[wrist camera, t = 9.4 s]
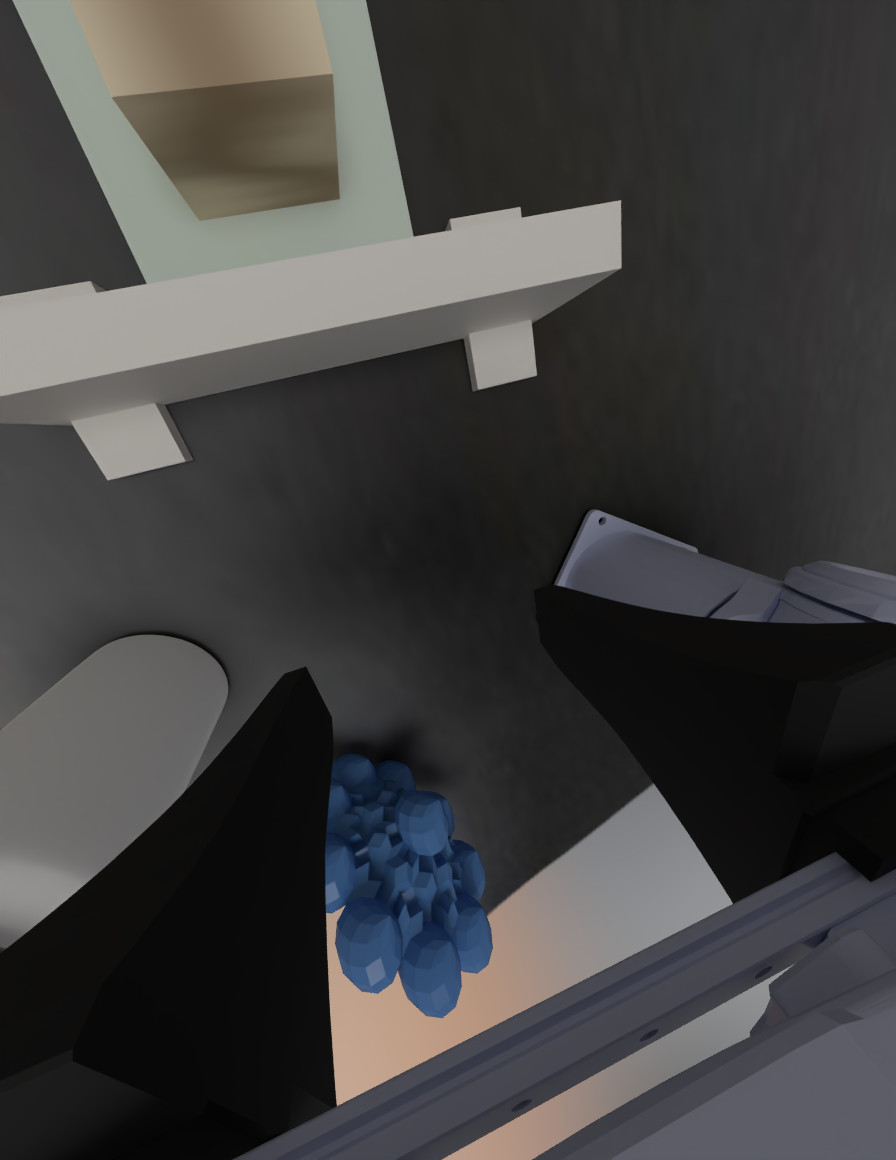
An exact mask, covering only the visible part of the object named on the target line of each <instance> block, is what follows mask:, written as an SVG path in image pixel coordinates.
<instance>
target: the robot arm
mask: <svg viewBox="0 0 896 1160" xmlns="http://www.w3.org/2000/svg"><path fill="white" fill-rule="evenodd" d="M601 517H602V521H601V523H599V519H600V518H601ZM534 595H535V602H536V610H537V617H538V625H539V633H540V640H541V643H542V645H543V646H544V648H545V650H546V651H547V653H548V654H549V656H550V657H551V658H552V660H553V661H554V663H555V664H556V665H557V667H558V668H559V669H560V670H561V671H562V673H563V674H564V675H565V676H566V677H567V678H568V679H569V680H570V681H571V683H572V684H573V685H574V686H575V687H576V688H577V689H578V690H579V691H580V692H581V693H582V695H583V696H584V697H585V698H586V699H587V700H588V701H589V702H590V703H591V704H592V706H593V707H594V708H595V709H596V710H597V711H598V712H599V713H600V714H601V715H602V716H603V718H604V719H605V720H606V721H607V722H608V723H609V724H610V726H611V727H612V728H613V729H614V730H615V732H616V733H617V734H618V735H619V737H620V738H621V739H622V741H623V742H624V743H625V745H626V746H627V747H628V749H629V750H630V751H631V753H632V754H633V755H634V757H635V758H636V759H637V761H638V762H639V763H640V765H641V766H642V768H643V769H644V770H645V772H646V773H647V775H648V776H649V777H650V779H651V780H652V782H653V783H654V784H655V786H656V787H657V788H658V790H659V791H660V793H661V794H662V795H663V797H664V798H665V800H666V801H667V803H668V804H669V806H670V807H671V809H672V810H673V812H674V813H675V815H676V816H677V818H678V819H679V821H680V822H681V824H682V825H683V826H684V828H685V829H686V831H687V832H688V834H689V835H690V837H691V838H692V840H693V841H694V842H695V844H696V846H697V847H698V849H699V851H700V852H701V853H702V855H703V857H704V858H705V860H706V861H707V863H708V865H709V866H710V868H711V869H712V871H713V872H714V874H715V875H716V877H717V879H718V880H719V882H720V883H721V885H722V886H723V888H724V889H725V891H726V893H727V894H728V896H729V897H730V899H731V901H732V902H733V904H732V905H730V906H728V907H726V908H724V909H722V910H720V911H718V912H716V913H714V914H712V915H710V916H709V917H707V918H705V919H703V920H701V921H699V922H697V923H695V924H693V925H691V926H689V927H687V928H685V929H683V930H681V931H679V932H677V933H675V934H673V935H671V936H670V937H667V938H665V939H663V940H662V941H660V942H658V943H656V944H654V945H652V946H650V947H648V948H646V949H644V950H642V951H640V952H638V953H636V954H634V955H632V956H630V957H628V958H626V959H624V960H623V961H620V962H619V963H617V964H615V965H613V966H611V967H609V968H607V969H605V970H603V971H601V972H599V973H597V974H595V975H593V976H591V977H589V978H587V979H585V980H583V981H582V982H579V983H578V984H576V985H573V986H572V987H570V988H568V989H566V990H564V991H562V992H560V993H558V994H556V995H554V996H552V997H550V998H548V999H546V1000H544V1001H542V1002H540V1003H538V1004H536V1005H534V1006H533V1007H530V1008H528V1009H527V1010H525V1011H523V1012H521V1013H519V1014H517V1015H515V1016H513V1017H511V1018H509V1019H507V1020H505V1021H503V1022H501V1023H499V1024H497V1025H495V1026H493V1027H491V1028H489V1029H488V1030H485V1031H484V1032H482V1033H480V1034H478V1035H476V1036H474V1037H472V1038H470V1039H468V1040H466V1041H464V1042H462V1043H460V1044H458V1045H456V1046H454V1047H452V1048H450V1049H448V1050H446V1051H444V1052H442V1053H441V1054H438V1055H437V1056H435V1057H433V1058H431V1059H429V1060H427V1061H425V1062H423V1063H421V1064H419V1065H417V1066H415V1067H413V1068H411V1069H409V1070H407V1071H405V1072H403V1073H401V1074H400V1075H398V1076H395V1077H393V1078H392V1079H390V1080H388V1081H386V1082H384V1083H382V1084H380V1085H378V1086H376V1087H374V1088H372V1089H370V1090H368V1091H366V1092H364V1093H362V1094H360V1095H358V1096H356V1097H354V1098H353V1099H350V1100H348V1101H346V1102H345V1103H343V1104H341V1105H339V1106H337V1104H336V1091H335V1079H334V1065H333V1051H332V1050H333V1049H332V1035H331V1020H330V1003H329V982H328V960H327V933H326V932H327V931H326V882H325V849H326V830H327V819H328V808H329V797H330V786H331V775H332V763H333V728H332V717H331V715H330V713H329V711H328V709H327V707H326V705H325V703H324V701H323V699H322V697H321V695H320V693H319V691H318V689H317V687H316V685H315V683H314V681H313V679H312V677H311V675H310V674H309V672H308V670H307V668H306V667H303V668H300V669H297V670H294V671H291V672H288V673H285V674H284V675H283V676H282V677H281V678H280V680H279V681H278V682H277V683H276V684H275V686H274V687H273V688H272V689H271V691H270V692H269V693H268V694H267V696H266V697H265V698H264V700H263V701H262V702H261V703H260V705H259V706H258V707H257V709H256V710H255V711H254V712H253V714H252V715H251V716H250V717H249V719H248V720H247V721H246V722H245V724H244V725H243V726H242V727H241V729H240V730H239V731H238V732H237V734H236V735H235V736H234V737H233V738H232V739H231V741H230V742H229V743H228V744H227V745H226V746H225V748H224V749H223V750H222V751H221V752H220V753H219V755H218V756H217V757H216V758H215V759H214V760H213V762H212V763H211V764H210V765H209V766H208V767H207V768H206V770H205V771H204V772H203V773H202V774H201V775H200V776H199V777H198V778H197V779H196V780H195V781H194V783H193V784H192V785H191V786H190V787H189V788H188V789H187V790H186V791H185V792H184V793H183V794H182V795H181V796H180V797H179V798H178V799H177V800H176V801H175V802H174V803H173V804H172V805H171V806H170V807H169V808H168V809H167V810H166V811H165V812H164V813H163V814H162V815H161V816H160V817H159V818H158V819H157V820H156V821H155V822H154V823H152V824H151V825H150V826H149V827H148V828H147V829H146V830H145V831H144V832H143V833H142V834H141V835H139V836H138V837H137V838H136V839H135V840H134V841H133V842H132V843H131V844H130V845H129V846H128V847H126V848H125V849H124V850H123V851H122V852H121V853H120V854H119V855H118V856H117V857H116V858H115V859H113V860H112V861H111V862H110V863H109V864H108V865H107V866H106V867H104V868H103V869H102V870H101V871H100V872H99V873H98V874H96V875H95V876H94V877H93V878H92V879H91V880H89V881H88V882H87V883H86V884H85V885H84V886H82V887H81V888H80V889H79V890H78V891H77V892H75V893H74V894H73V895H72V896H71V897H69V898H68V899H67V900H66V901H65V902H63V903H62V904H61V905H60V906H58V907H57V908H56V909H55V910H54V911H52V912H51V913H50V914H49V915H48V916H46V917H45V918H44V919H43V920H42V921H40V922H39V923H38V924H37V925H35V926H34V927H33V928H32V929H30V930H29V931H28V932H27V933H25V934H24V935H23V936H22V937H20V938H19V939H18V940H17V941H15V942H14V943H13V944H12V945H10V946H9V947H8V948H6V949H5V950H4V951H2V952H1V953H0V1160H441V1159H443V1158H445V1157H447V1156H448V1155H451V1154H452V1153H454V1152H456V1151H458V1150H459V1149H461V1148H463V1147H465V1146H467V1145H468V1144H470V1143H472V1142H474V1141H476V1140H477V1139H479V1138H481V1137H483V1136H485V1135H487V1134H488V1133H490V1132H492V1131H494V1130H496V1129H497V1128H499V1127H501V1126H503V1125H505V1124H506V1123H508V1122H510V1121H512V1120H514V1119H515V1118H517V1117H519V1116H521V1115H523V1114H525V1113H526V1112H528V1111H530V1110H532V1109H533V1108H535V1107H537V1106H539V1105H541V1104H542V1103H544V1102H546V1101H548V1100H550V1099H551V1098H553V1097H555V1096H557V1095H559V1094H561V1093H562V1092H564V1091H566V1090H568V1089H570V1088H571V1087H573V1086H575V1085H577V1084H579V1083H580V1082H582V1081H584V1080H586V1079H588V1078H589V1077H591V1076H593V1075H595V1074H597V1073H598V1072H600V1071H602V1070H604V1069H606V1068H607V1067H609V1066H611V1065H613V1064H614V1063H616V1062H618V1061H620V1060H622V1059H624V1058H626V1057H627V1056H629V1055H631V1054H633V1053H634V1052H636V1051H638V1050H640V1049H642V1048H644V1047H645V1046H647V1045H649V1044H651V1043H653V1042H654V1041H656V1040H658V1039H660V1038H662V1037H663V1036H665V1035H667V1034H669V1033H671V1032H672V1031H674V1030H676V1029H678V1028H680V1027H681V1026H683V1025H685V1024H687V1023H688V1022H690V1021H692V1020H694V1019H696V1018H697V1017H699V1016H701V1015H703V1014H705V1013H706V1012H708V1011H710V1010H712V1009H714V1008H716V1007H717V1006H719V1005H721V1004H723V1003H725V1002H726V1001H728V1000H730V999H732V998H734V997H735V996H737V995H739V994H741V993H743V992H745V991H746V990H748V989H750V988H752V987H753V986H755V985H757V984H759V983H761V982H763V981H764V980H766V979H768V978H770V977H771V976H773V975H775V974H777V973H779V972H781V971H782V970H784V969H786V968H788V967H790V966H791V965H793V964H794V965H793V966H792V967H791V968H789V969H788V970H787V971H786V972H784V973H783V974H782V975H780V976H779V977H778V978H777V979H775V980H774V981H773V982H772V983H771V984H769V991H770V997H771V998H770V1001H769V1003H768V1005H767V1008H766V1010H765V1013H764V1014H763V1015H762V1016H761V1018H760V1019H759V1020H758V1022H757V1023H756V1024H755V1026H754V1027H753V1028H752V1030H751V1031H750V1037H749V1038H747V1039H745V1040H743V1041H741V1042H739V1043H736V1044H735V1045H733V1046H730V1047H728V1048H726V1049H724V1050H722V1051H720V1052H718V1053H717V1054H715V1055H713V1056H711V1057H709V1058H707V1059H705V1060H703V1061H702V1062H700V1063H698V1064H696V1065H694V1066H692V1067H690V1068H689V1069H687V1070H685V1071H683V1072H681V1073H679V1074H677V1075H675V1076H674V1077H672V1078H670V1079H668V1080H666V1081H665V1082H662V1083H661V1084H659V1085H657V1086H655V1087H654V1088H652V1089H650V1090H648V1091H647V1092H645V1093H643V1094H641V1095H640V1096H638V1097H636V1098H634V1099H633V1100H631V1101H629V1102H627V1103H626V1104H624V1105H622V1106H621V1107H619V1108H617V1109H615V1110H614V1111H612V1112H610V1113H608V1114H607V1115H605V1116H603V1117H601V1118H600V1119H598V1120H596V1121H595V1122H593V1123H591V1124H590V1125H588V1126H586V1127H585V1128H583V1129H581V1130H580V1131H578V1132H576V1133H575V1134H573V1135H572V1136H570V1137H568V1138H567V1139H565V1140H563V1141H562V1142H561V1143H559V1144H557V1145H555V1146H554V1147H552V1148H550V1149H549V1150H547V1151H545V1152H544V1153H542V1154H541V1155H539V1156H537V1157H536V1158H534V1159H532V1160H896V576H892V575H888V574H884V573H880V572H875V571H871V570H867V569H862V568H858V567H853V566H848V565H844V564H839V563H834V562H828V561H816V562H813V563H810V564H807V565H804V566H803V567H792V568H790V569H789V570H788V572H787V574H786V576H785V578H784V581H779V580H775V579H772V578H769V577H766V576H763V575H761V574H758V573H755V572H752V571H749V570H746V569H743V568H740V567H737V566H734V565H731V564H728V563H725V562H722V561H719V560H717V559H714V558H711V557H708V556H705V555H702V554H699V553H698V550H697V548H695V547H692V546H690V545H687V544H685V543H682V542H680V541H677V540H674V539H672V538H669V537H667V536H664V535H661V534H659V533H656V532H654V531H651V530H648V529H646V528H643V527H641V526H638V525H635V524H633V523H630V522H628V521H625V520H623V519H620V518H617V517H615V516H612V515H610V514H607V513H604V512H602V511H599V510H596V509H593V510H590V511H589V512H588V513H587V514H586V516H585V518H584V521H583V523H582V525H581V527H580V529H579V531H578V533H577V536H576V538H575V540H574V542H573V544H572V546H571V549H570V551H569V553H568V555H567V557H566V559H565V561H564V564H563V566H562V568H561V570H560V572H559V574H558V577H557V579H556V581H555V583H554V585H553V584H551V585H548V586H545V587H542V588H539V589H536V590H534ZM795 963H796V964H795Z"/></svg>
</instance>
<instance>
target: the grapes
mask: <svg viewBox="0 0 896 1160" xmlns="http://www.w3.org/2000/svg"><path fill="white" fill-rule="evenodd" d="M454 829H455V828H454V815H453V812H452V809H451V806H450V804H449V802H448V801H447V799H446V798H445V797H443V796H442V795H439V794H437V793H435V792H427V791H417V790H415V781H414V778H413V775H412V773H411V771H410V769H409V768H408V767H407V766H406V765H405V764H403V763H401V762H398V761H393V760H386V761H384V762H382V763H379V764H378V765H377V767H376V768H375V767H374V766H373V764H372V763H371V761H370V760H369V759H368V758H366V757H364V756H362V755H360V754H352V753H348V754H345V755H343V756H341V757H339V758H338V759H337V761H336V762H335V763H334V765H333V766H332V775H331V786H330V797H329V808H328V819H327V830H326V849H325V882H326V913H333V912H335V911H337V910H338V909H340V908H342V907H343V906H345V905H346V906H345V908H344V910H343V912H342V914H341V916H340V918H339V919H338V921H337V929H336V941H335V945H336V949H337V953H338V957H339V960H340V964H341V967H342V971H343V974H344V975H345V976H346V977H347V978H348V979H349V980H350V981H351V982H352V983H353V984H354V985H355V986H356V987H357V988H359V989H360V990H361V991H363V992H370V993H377V994H378V993H379V992H381V991H382V990H383V989H385V988H386V987H388V986H389V985H390V984H392V982H393V981H394V978H395V976H396V973H397V971H398V973H399V976H400V979H401V983H402V986H403V988H404V990H405V993H406V995H407V997H408V999H409V1000H410V1001H411V1002H412V1003H413V1004H414V1005H415V1006H416V1007H417V1008H418V1009H419V1010H420V1011H421V1012H423V1013H424V1014H425V1015H426V1016H430V1017H438V1018H443V1017H444V1016H445V1015H447V1014H448V1013H449V1012H450V1011H451V1010H453V1009H454V1008H455V1007H456V1004H457V1000H458V997H459V994H460V990H461V987H462V986H461V971H463V972H469V973H478V972H480V971H481V970H482V969H483V968H485V967H486V966H487V965H488V963H489V959H490V956H491V952H492V949H493V945H492V934H491V927H490V924H489V921H488V918H487V915H486V912H485V911H484V909H483V907H482V906H481V905H480V904H479V903H478V901H477V900H478V899H480V898H481V896H482V893H483V890H484V887H485V876H484V868H483V865H482V862H481V859H480V857H479V855H478V853H477V851H476V850H475V849H474V848H473V847H472V846H471V845H469V844H467V843H465V842H463V841H461V840H452V839H451V836H452V834H453V831H454Z"/></svg>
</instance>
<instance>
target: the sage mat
mask: <svg viewBox="0 0 896 1160" xmlns="http://www.w3.org/2000/svg"><path fill="white" fill-rule="evenodd" d="M315 1H316V5H317V9H318V13H319V18H320V22H321V26H322V30H323V34H324V38H325V43H326V47H327V51H328V55H329V59H330V63H331V68H332V72H333V83H334V102H335V120H336V139H337V157H338V176H339V194H340V199H338V200H331V201H325V202H318V203H312V204H306V205H299V206H293V207H286V208H280V209H273V210H267V211H261V212H254V213H248V214H241V215H235V216H228V217H222V218H216V219H209V220H203V221H199V219H198V218H197V217H196V215H195V214H194V212H193V211H192V210H191V208H190V207H189V205H188V204H187V203H186V201H185V200H184V198H183V197H182V196H181V194H180V193H179V191H178V190H177V189H176V187H175V186H174V184H173V183H172V182H171V180H170V179H169V177H168V176H167V175H166V173H165V172H164V170H163V169H162V167H161V166H160V165H159V163H158V162H157V160H156V159H155V158H154V156H153V155H152V153H151V152H150V151H149V149H148V148H147V146H146V145H145V144H144V142H143V141H142V139H141V138H140V137H139V135H138V134H137V132H136V131H135V130H134V128H133V127H132V125H131V124H130V123H129V121H128V120H127V118H126V117H125V116H124V114H123V113H122V111H121V110H120V109H119V107H118V106H117V104H116V103H115V102H114V100H113V99H112V97H111V95H110V93H109V91H108V88H107V86H106V84H105V81H104V79H103V77H102V74H101V72H100V70H99V67H98V65H97V63H96V60H95V58H94V56H93V53H92V51H91V49H90V46H89V44H88V42H87V39H86V37H85V35H84V32H83V30H82V28H81V25H80V23H79V21H78V18H77V16H76V14H75V11H74V9H73V7H72V4H71V2H70V0H13V2H14V4H15V7H16V9H17V11H18V13H19V15H20V17H21V19H22V21H23V23H24V26H25V28H26V30H27V32H28V34H29V36H30V38H31V40H32V42H33V45H34V47H35V49H36V51H37V53H38V55H39V57H40V59H41V61H42V63H43V66H44V68H45V70H46V72H47V74H48V76H49V78H50V80H51V82H52V85H53V87H54V89H55V91H56V93H57V95H58V97H59V99H60V101H61V104H62V106H63V108H64V110H65V112H66V114H67V116H68V118H69V120H70V123H71V125H72V127H73V129H74V131H75V133H76V135H77V137H78V139H79V141H80V144H81V146H82V148H83V150H84V152H85V154H86V156H87V158H88V160H89V163H90V165H91V167H92V169H93V171H94V173H95V175H96V177H97V179H98V182H99V184H100V186H101V188H102V190H103V192H104V194H105V196H106V198H107V200H108V203H109V205H110V207H111V209H112V211H113V213H114V215H115V217H116V219H117V222H118V224H119V226H120V228H121V230H122V232H123V234H124V236H125V238H126V241H127V243H128V245H129V247H130V249H131V251H132V253H133V255H134V257H135V259H136V262H137V264H138V266H139V268H140V270H141V272H142V274H143V276H144V278H145V281H146V283H147V284H150V283H156V282H162V281H167V280H173V279H179V278H184V277H190V276H196V275H201V274H207V273H213V272H218V271H224V270H230V269H235V268H241V267H247V266H252V265H258V264H264V263H269V262H275V261H281V260H286V259H292V258H298V257H303V256H309V255H315V254H320V253H326V252H332V251H337V250H343V249H349V248H354V247H360V246H366V245H371V244H377V243H383V242H388V241H394V240H400V239H405V238H411V237H413V232H412V227H411V222H410V217H409V212H408V207H407V202H406V197H405V192H404V187H403V182H402V177H401V172H400V167H399V162H398V158H397V153H396V148H395V143H394V138H393V133H392V128H391V123H390V118H389V113H388V108H387V103H386V98H385V93H384V88H383V83H382V78H381V73H380V68H379V63H378V58H377V53H376V49H375V44H374V39H373V34H372V29H371V24H370V19H369V14H368V9H367V4H366V0H315Z"/></svg>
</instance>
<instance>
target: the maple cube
mask: <svg viewBox="0 0 896 1160" xmlns="http://www.w3.org/2000/svg"><path fill="white" fill-rule="evenodd" d="M70 2H71V4H72V7H73V9H74V11H75V14H76V16H77V18H78V21H79V23H80V25H81V28H82V30H83V32H84V35H85V37H86V39H87V42H88V44H89V46H90V49H91V51H92V53H93V56H94V58H95V60H96V63H97V65H98V67H99V70H100V72H101V74H102V77H103V79H104V81H105V84H106V86H107V88H108V91H109V93H110V95H111V97H112V99H113V100H114V102H115V103H116V104H117V106H118V107H119V109H120V110H121V111H122V113H123V114H124V116H125V117H126V118H127V120H128V121H129V123H130V124H131V125H132V127H133V128H134V130H135V131H136V132H137V134H138V135H139V137H140V138H141V139H142V141H143V142H144V144H145V145H146V146H147V148H148V149H149V151H150V152H151V153H152V155H153V156H154V158H155V159H156V160H157V162H158V163H159V165H160V166H161V167H162V169H163V170H164V172H165V173H166V175H167V176H168V177H169V179H170V180H171V182H172V183H173V184H174V186H175V187H176V189H177V190H178V191H179V193H180V194H181V196H182V197H183V198H184V200H185V201H186V203H187V204H188V205H189V207H190V208H191V210H192V211H193V212H194V214H195V215H196V217H197V218H198V219H199V221H203V220H209V219H216V218H222V217H228V216H235V215H241V214H248V213H254V212H261V211H267V210H273V209H280V208H286V207H293V206H299V205H306V204H312V203H318V202H325V201H331V200H338V199H340V194H339V176H338V157H337V139H336V120H335V102H334V83H333V72H332V68H331V63H330V59H329V55H328V51H327V47H326V43H325V38H324V34H323V30H322V26H321V22H320V18H319V13H318V9H317V5H316V1H315V0H70Z"/></svg>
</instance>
